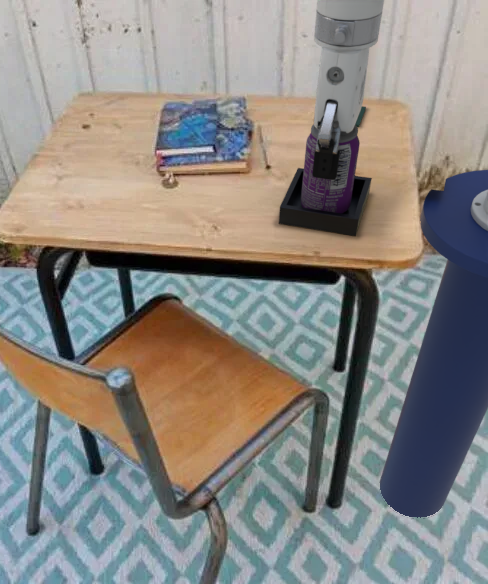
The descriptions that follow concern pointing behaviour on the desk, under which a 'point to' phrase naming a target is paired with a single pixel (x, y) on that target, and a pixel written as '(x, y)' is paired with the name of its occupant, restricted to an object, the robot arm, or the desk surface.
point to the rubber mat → (360, 116)
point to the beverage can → (329, 191)
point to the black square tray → (320, 219)
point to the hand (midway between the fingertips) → (330, 162)
